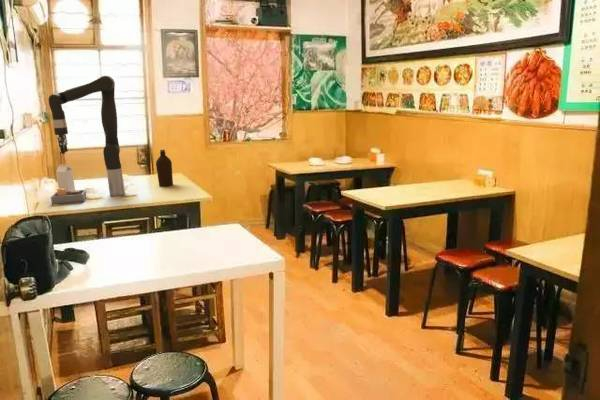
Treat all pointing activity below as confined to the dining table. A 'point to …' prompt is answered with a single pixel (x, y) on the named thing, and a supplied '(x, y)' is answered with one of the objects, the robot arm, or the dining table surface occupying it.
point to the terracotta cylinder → (61, 192)
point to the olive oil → (164, 170)
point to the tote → (68, 198)
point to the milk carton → (65, 177)
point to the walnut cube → (75, 192)
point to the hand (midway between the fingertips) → (64, 152)
